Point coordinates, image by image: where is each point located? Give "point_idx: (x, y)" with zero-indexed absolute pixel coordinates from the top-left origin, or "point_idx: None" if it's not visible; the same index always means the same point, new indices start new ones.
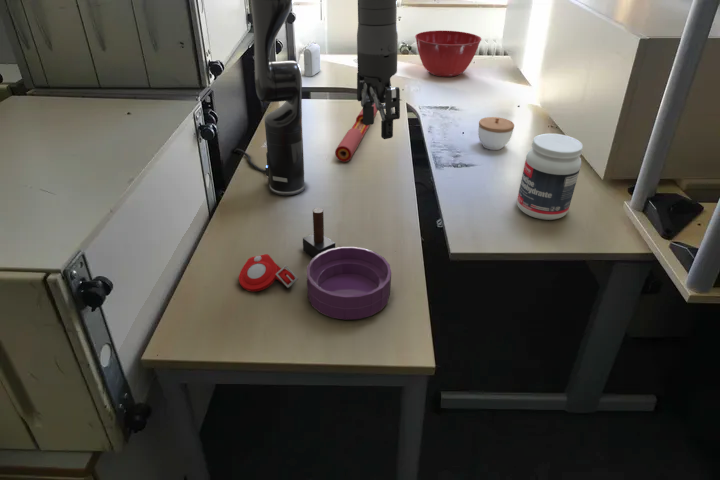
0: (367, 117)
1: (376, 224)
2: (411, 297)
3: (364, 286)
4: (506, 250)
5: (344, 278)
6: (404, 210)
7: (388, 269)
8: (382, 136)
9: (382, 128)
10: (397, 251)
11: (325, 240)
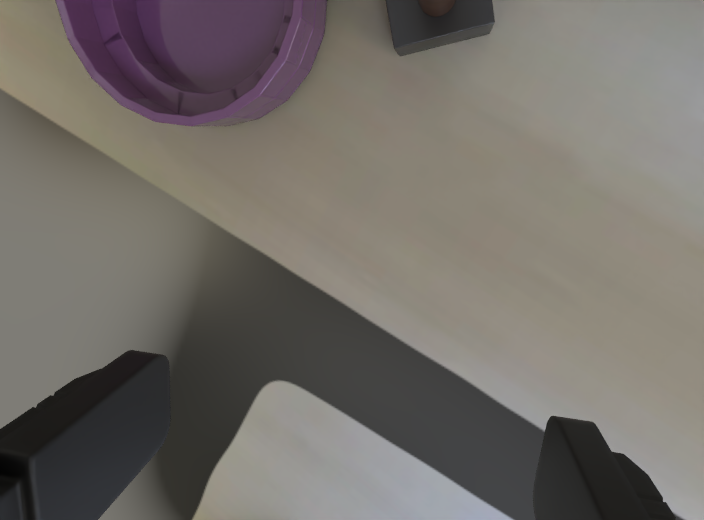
0: (567, 500)
1: (493, 268)
2: (152, 157)
3: (219, 60)
4: (224, 462)
5: (273, 22)
6: (517, 388)
7: (136, 105)
8: (126, 355)
9: (72, 397)
10: (334, 240)
11: (425, 20)
